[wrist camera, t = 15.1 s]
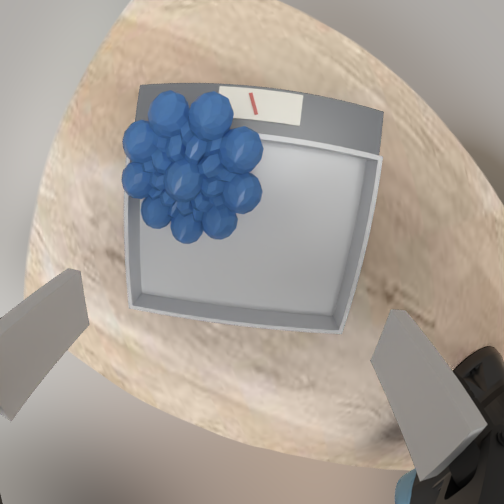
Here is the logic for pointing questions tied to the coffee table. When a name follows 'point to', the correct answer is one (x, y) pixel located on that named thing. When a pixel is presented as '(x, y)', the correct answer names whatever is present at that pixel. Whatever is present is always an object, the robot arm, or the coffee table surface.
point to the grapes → (192, 166)
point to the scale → (270, 219)
